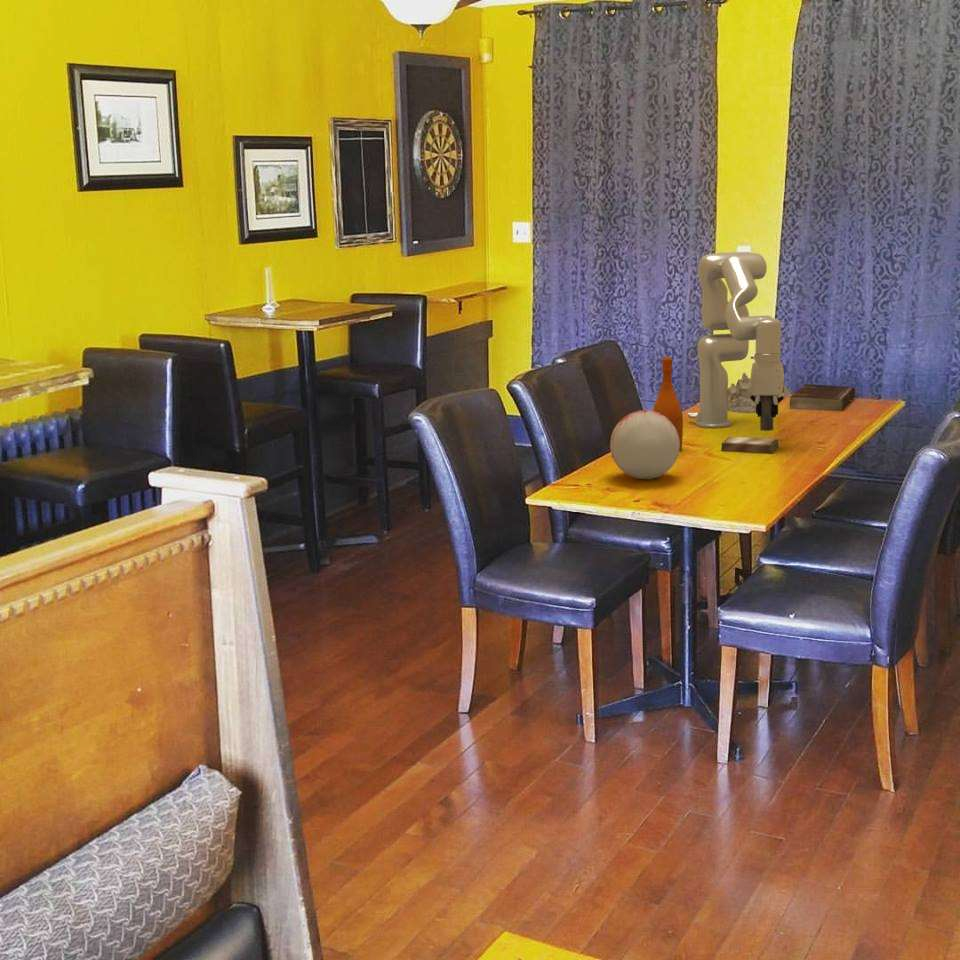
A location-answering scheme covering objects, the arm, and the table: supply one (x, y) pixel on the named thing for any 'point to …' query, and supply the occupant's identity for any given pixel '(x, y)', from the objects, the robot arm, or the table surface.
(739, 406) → the miniature castle
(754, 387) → the robot arm
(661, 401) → the wine bottle
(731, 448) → the picture frame
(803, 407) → the hardback book
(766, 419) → the marker
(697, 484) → the table surface
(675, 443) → the decorative orb
